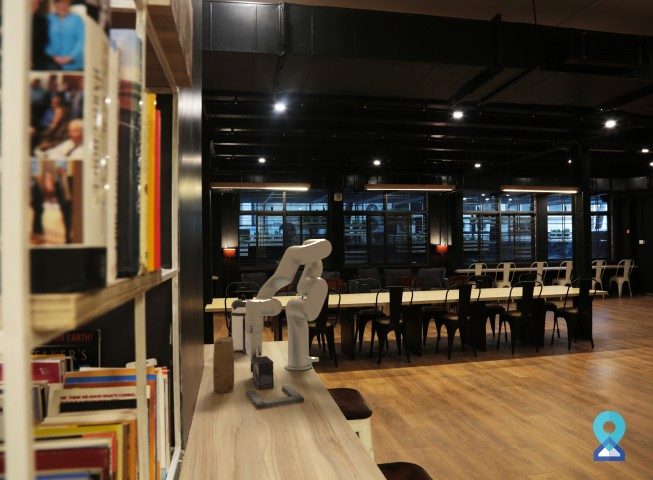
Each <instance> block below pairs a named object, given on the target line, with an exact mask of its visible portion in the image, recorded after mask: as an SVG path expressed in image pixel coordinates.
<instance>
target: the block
mask: <svg viewBox="0 0 653 480" xmlns="http://www.w3.org/2000/svg"><path fill="white" fill-rule="evenodd" d="M234 350H235V349H233V338H232V336H222V337H221V336H219V337H217V338H216V339H215V341H214V344H213V354H212V355H213V356H212V357H213V359H212V360H213V362H212V367H213V368H212V375H213V377H212V380H213V382H212V383H213V391H214V392H215V393H219V394H226V393H230V392H232V391H234V388H235V387H234V386H235V351H234Z"/></svg>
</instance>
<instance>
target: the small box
mask: <svg viewBox="0 0 653 480" xmlns="http://www.w3.org/2000/svg"><path fill="white" fill-rule="evenodd" d="M252 369H253V373H252V383H253V385H254V386H255V387H256V388H257V389H258V391H262V390H264V391H265V390H270V389H274V388H275V384H274V381H275V380H274V379H275V378H274V361H273V360H272V359H271V358H270V357H268V356H267V355H264V356H263V355H262V356H259V357H254V358H252Z"/></svg>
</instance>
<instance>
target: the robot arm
mask: <svg viewBox="0 0 653 480" xmlns="http://www.w3.org/2000/svg"><path fill="white" fill-rule="evenodd" d="M332 249H333V248H332V244H331V242H330V241H329V240H327V239H325V238H321V239H320V238H317V239H314V238H313V239H307V240H304V241H303V243H302V244H301V245H293V246H289V247H288V248H287V249H286V250H285V252H284V254H283V256H282V259H281V260H280V262H279V264H278V266H277V268H276V271H275V272H274V274H273V275H272V276H271V277H269V279H268V280H266V282H265V283H264V284H263V285H262V286H261V288H260V289H259V291H258V292H257V296H256V298H253V299H252V298H251V299H250V300H247V301H246V333H247V341H246V354H247V355H248V356H249V357H250V372H251V374H253V369H252V358H254V357H262V356H263V340H262V339H263V337H262V336H263V335H262V334H263V333H264V329H265V328H264V317H265V316H268V317H269V316H270V317H273V316H277V315H279V314H280V313H281V312H282V310H283V304H282V302H281V300H279V299H277V298H275V297H274V295H276V293H277V292H278V291H279V290H280V289H282V288H284V287H286V286H288V285H289V284H291V283H292V282H293V280H294V278H295V276H296V273H297V271H298V269H299V267H300V265H303V266H304V269H303V271H302V274H301V276H300V279H299V281H298V283H297V287H296V291H297V293H298V295H299V296H302V297H292V298H291V299H289V300H288V301H287V302H286V304H285V316H286V322H287V362H286V363H285V364H284V369H286V370H289V371H306V370H310V369H312V367H313V363H317V362H318V363H319V361H320V358H319V357H318V356H317V357H316V356H309V354H310V350H309V349H310V348H309V346H310V345H309V343H310V341H309V339H310V337H309V336H310V335H309V333H310V332H309V331H310V330H309V324H308V323H309V322H312V321H314V320H317V318H318V317H319V315H320V314H321V313H320V312H321V311H322V308H323V306H324V303H325V300H326V299H327V298H326V297H327V295H328V291H329V289H328V287H329V286H328V283H327V281H326V280H325V279H324V278H322V273H323V269H324V266H323V261H322V259H325V258H327V257H328V256H330V254H331V252H332ZM303 297H304V298H303Z"/></svg>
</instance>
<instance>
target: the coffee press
mask: <svg viewBox="0 0 653 480" xmlns="http://www.w3.org/2000/svg"><path fill="white" fill-rule="evenodd" d="M247 300H251V299H250V298H249V299H248V298H246V295H245V294H241V295H240V298H239V299H235V300H233V301H232V303H231V305H230V308H231V315H230V316H231V322H230V323H231V337H232V338H233V349H234V350H236V351H242V354H243V355H244V354H247V353H246V341H247V333H246V301H247Z"/></svg>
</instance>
